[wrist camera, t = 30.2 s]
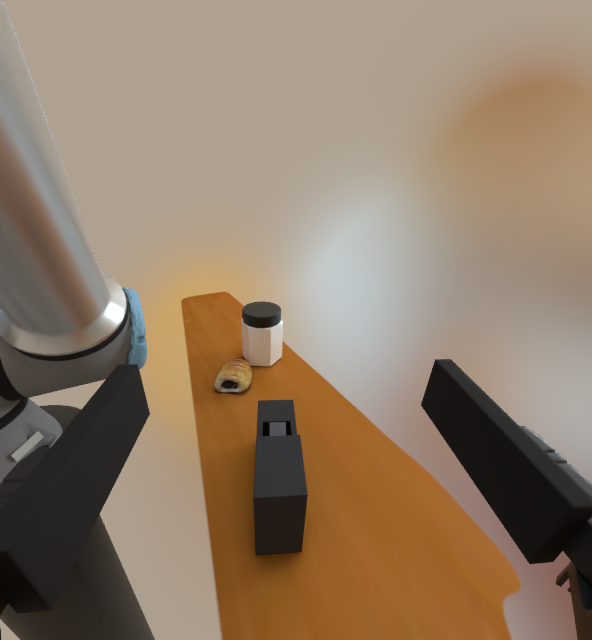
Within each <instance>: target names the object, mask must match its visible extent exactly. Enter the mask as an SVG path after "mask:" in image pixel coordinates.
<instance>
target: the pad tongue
mask: <svg viewBox="0 0 592 640" xmlns="http://www.w3.org/2000/svg"><path fill="white" fill-rule="evenodd" d="M306 504H307V487H306V479H305V471H304V463H303V455H302V447H301V439H300V435H287V436H286V424H285V422H270V426H269V436H261V437H256V460H255V482H254V519H255V550H256V555H265V554H278V553H290V552H301V551H302V543H303V533H304V524H305V514H306Z"/></svg>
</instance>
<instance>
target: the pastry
mask: <svg viewBox="0 0 592 640" xmlns="http://www.w3.org/2000/svg"><path fill="white" fill-rule="evenodd" d="M251 378H252V370H251V366H250V363H249V361H248V360H244V359H240V358H236V359H233V360H232V361H229V362H228V363H226V364H224V366H223V367H221V369H220V371H219V372H218V373H217V374H216V381H215V384H214V388H215V389H217V391H218V392H242V391H244V390H246V389H247V388H248V387H249V386H250V384H251Z"/></svg>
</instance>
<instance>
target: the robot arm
mask: <svg viewBox="0 0 592 640" xmlns="http://www.w3.org/2000/svg"><path fill="white" fill-rule="evenodd" d="M146 356H147V345H146V338H145V325H144V318H143V312H142V307H141V303H140V299H139V296H138V294H137V292H136V291H134V290H133V289H126V288H121V287H120V285H119V284H118V283H117V282H116V281H115V280H114V279H112V278H111V277H110V276H108V275H106V274H105V273H103V272H101V270H100V267H99V265H98V262H97V259H96V256H95V253H94V251H93V248H92V245H91V242H90V239H89V237H88V234H87V231H86V228H85V226H84V223H83V220H82V217H81V214H80V212H79V209H78V206H77V203H76V200H75V198H74V195H73V192H72V189H71V186H70V184H69V181H68V178H67V176H66V173H65V170H64V167H63V164H62V161H61V159H60V156H59V153H58V150H57V147H56V145H55V142H54V139H53V136H52V134H51V131H50V128H49V125H48V122H47V120H46V117H45V114H44V111H43V109H42V106H41V103H40V100H39V98H38V95H37V92H36V89H35V86H34V83H33V81H32V78H31V75H30V73H29V70H28V67H27V64H26V61H25V58H24V56H23V53H22V50H21V47H20V44H19V42H18V39H17V36H16V33H15V30H14V28H13V25H12V22H11V19H10V17H9V14H8V11H7V8H6V5H5V3H4V0H0V615H1V613H2V612H3V610H4V609H5V607H6V605H7V604H8V603H9V605H10V606H11V607H12V608H13V609H14V610H15V611H16V612H17V613H27V612H38V611H48V610H51V609H52V607H53V605H54V603H55V601H56V599H57V597H58V595H59V593H60V591H61V589H62V587H63V585H64V583H65V581H66V579H67V577H68V575H69V573H70V571H71V570H72V568H73V566H74V564H75V562H76V560H77V558H78V556H79V554H80V552H81V550H82V548H83V546H84V544H85V542H86V540H87V538H88V536H89V534H90V532H91V530H92V528H93V526H94V524H95V522H96V520H97V518H98V516H99V514H100V512H101V510H102V508H103V506H104V504H105V502H106V500H107V498H108V496H109V494H110V492H111V490H112V488H113V486H114V484H115V482H116V480H117V478H118V476H119V474H120V472H121V470H122V468H123V466H124V464H125V462H126V460H127V458H128V456H129V454H130V452H131V450H132V448H133V446H134V444H135V442H136V440H137V438H138V436H139V434H140V432H141V430H142V428H143V426H144V424H145V422H146V420H147V418H148V416H149V414H150V413H149V408H148V404H147V400H146V396H145V392H144V388H143V384H142V380H141V376H140V372H139V369H141V368H142V367H143V366H144V364H145V362H146ZM104 379H106V380H105V381H104V383H103V384H102V385H101V387H100V388H99V389H98V390H97V391H96V393H95V394H94V395H93V396H92V397H91V399H90V400H89V401H88V402H87V404H86V405H85V406H84V407H83V409H82V410H81V411H80V412H79V414H78V415H77V416H76V417H75V418H74V420H73V421H72V422H71V423H70V425H69V426H68V427H67V428H66V430H65V431H64V432H63V430H62V427H61V425H60V423H59V422H58V421H57V420H56V419H55V418H53V417H52V416H51V415H49V414H48V413H47V412H46V411H44V410H43V409H42V408H40V407H39V406H38V405H36V404H35V403H34V402H32V401H31V400H30V399H29V397H33V396H37V395H41V394H46V393H50V392H54V391H58V390H62V389H67V388H70V387H75V386H79V385H83V384H88V383H92V382H96V381H100V380H104ZM421 406H422V407H423V409H424V410H425V412H426V413H427V414H428V416H429V417H430V419H431V420H432V422H433V423H434V425H435V426H436V428H437V429H438V431H439V432H440V433H441V435H442V436H443V438H444V439H445V441H446V442H447V444H448V445H449V447H450V448H451V450H452V451H453V452H454V454H455V455H456V457H457V458H458V460H459V461H460V463H461V464H462V466H463V467H464V469H465V470H466V472H467V473H468V474H469V476H470V477H471V479H472V480H473V482H474V483H475V485H476V486H477V488H478V489H479V490H480V492H481V494H482V495H483V496H484V498H485V499H486V501H487V502H488V504H489V505H490V507H491V508H492V510H493V511H494V513H495V514H496V515H497V517H498V518H499V520H500V521H501V523H502V524H503V525H504V527H505V529H506V530H507V532H508V533H509V534H510V536H511V537H512V539H513V540H514V542H515V543H516V544H517V546H518V548H519V549H520V550H521V552H522V553H523V555H524V556H525V558H526V559H527V561H528V562H529V564H535V563H546V562H553V561H554V560H555V559H556V558H557V557H558V556H559V554H560V553H561V552H562V551H564V552H565V554H566V555H567V556H568V558H570V560H571V562H570V563H569V564H568V565H567V567H566V568H565V569H564V570H563V571H562V572H561V573H560V574H559V575H558V576H557V580H556V584H557V585H559V586H560V587H561V586H562V585H563V584H564V583H565V582H566V581H567V579H568V578H569V582H570V587H569V589H568V591H569V592H571V596H572V603H573V610H574V616H575V624H576V630H577V637H578V640H592V484H591V483H590V482H589V481H588V480H587V479H586V478H584V477H583V476H582V475H581V474H580V473H579V472H578V471H577V470H576V469H575V468H574V467H573V466H571V464H568V463H567V461H566V460H565V459H564V458H563V457H562V456H561V455H560V454H559V453H556V452H555V449H553V448H552V447H551V446H550V445H549V444H548V443H547V442H546V441H545V440H544V439H543V438H542V437H540V436H539V435H537V434H536V433H534V432H533V431H531V430H530V429H528V428H527V427H525V426H518V425H517V424H516V423H515V422H514V421H513V420H512V419H511V418H510V417H509V416H508V415H507V414H506V413H505V412H504V411H503V410H502V409H501V408H500V407H499V406H498V405H497V404H496V403H495V402H494V401H493V400H492V399H491V398H490V397H489V396H488V395H487V394H486V393H485V392H484V391H482V389H481V388H479V386H477V385H476V384H475V383H474V382H473V381H472V380H471V379H470V378H469V377H468V376H467V375H466V374H465V373H464V372H463V371H462V370H461V369H460V368H459V367H458V366H457V365H456V364H455V363H454V362H453V361H452V360H451V359H444V360H443V359H442V360H435V362H434V366H433V368H432V372H431V375H430V378H429V381H428V385H427V388H426V391H425V394H424V397H423V400H422V403H421ZM0 640H1V630H0Z"/></svg>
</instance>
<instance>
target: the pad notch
mask: <svg viewBox="0 0 592 640" xmlns="http://www.w3.org/2000/svg"><path fill="white" fill-rule="evenodd" d="M270 422H285V424H286V436H287V435H297V429H296V421H295V412H294V403H293V400H268V401H258V420H257V437H261V436H269V426H270Z"/></svg>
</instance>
